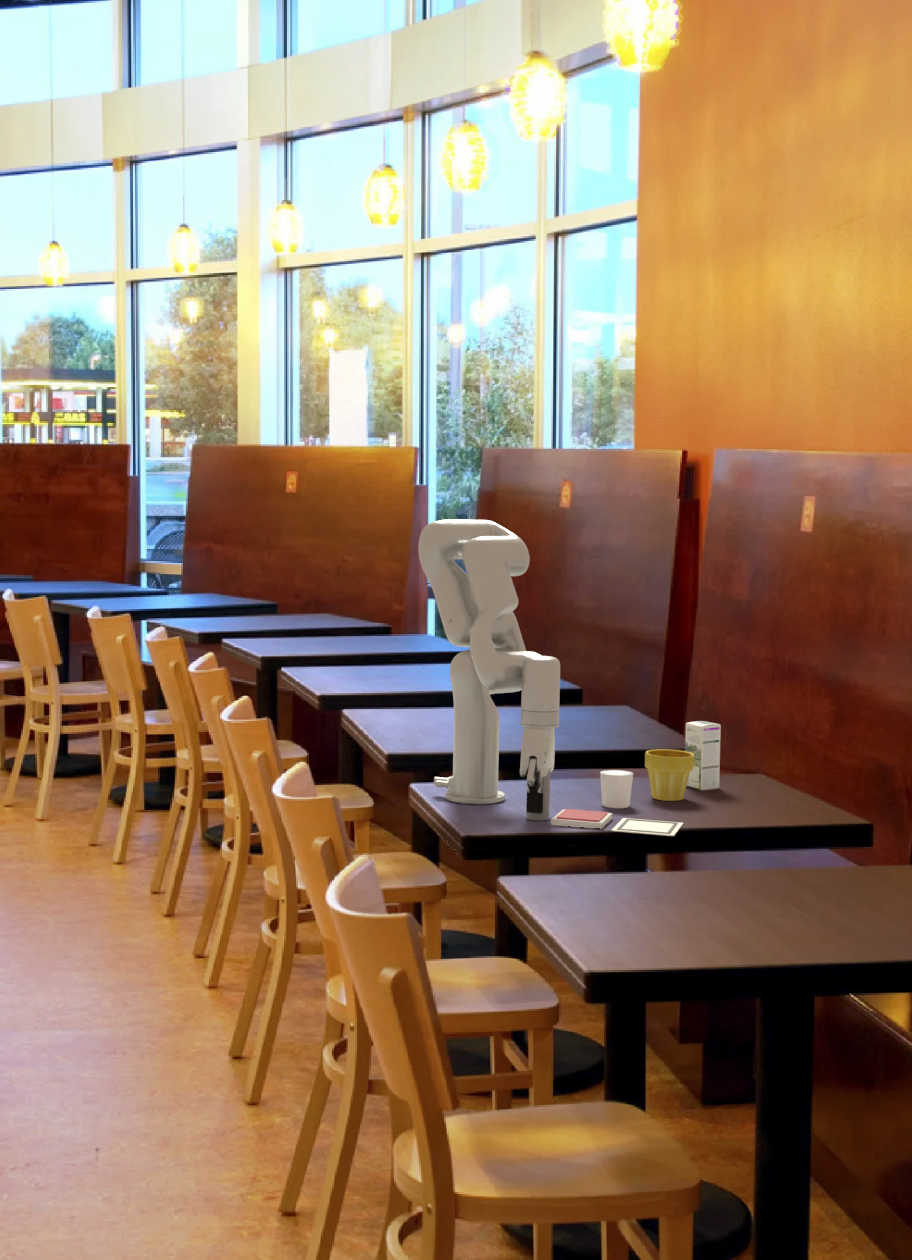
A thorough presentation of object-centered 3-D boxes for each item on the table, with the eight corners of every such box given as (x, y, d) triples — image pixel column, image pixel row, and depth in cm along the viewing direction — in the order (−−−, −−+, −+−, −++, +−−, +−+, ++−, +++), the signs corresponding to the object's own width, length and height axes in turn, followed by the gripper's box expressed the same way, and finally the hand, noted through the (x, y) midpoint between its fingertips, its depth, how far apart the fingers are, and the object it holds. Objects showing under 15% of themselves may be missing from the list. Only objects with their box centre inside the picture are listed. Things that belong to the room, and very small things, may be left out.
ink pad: (551, 825, 297) (551, 817, 297) (563, 815, 307) (563, 807, 307) (602, 829, 294) (602, 821, 294) (612, 819, 304) (612, 811, 304)
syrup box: (720, 788, 339) (722, 723, 337) (699, 790, 336) (702, 725, 334) (703, 784, 343) (705, 720, 342) (682, 786, 340) (684, 721, 339)
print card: (611, 831, 293) (611, 829, 293) (623, 819, 304) (623, 817, 304) (673, 836, 289) (673, 834, 289) (683, 823, 301) (683, 822, 301)
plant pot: (702, 798, 327) (703, 753, 326) (675, 805, 319) (676, 758, 319) (661, 791, 334) (662, 747, 333) (634, 798, 326) (635, 752, 325)
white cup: (634, 809, 314) (634, 775, 314) (600, 808, 314) (601, 774, 314) (630, 802, 321) (631, 769, 321) (598, 801, 321) (598, 768, 321)
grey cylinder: (532, 821, 300) (533, 769, 299) (522, 817, 304) (523, 765, 304) (552, 820, 302) (554, 768, 301) (543, 815, 306) (544, 764, 305)
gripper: (532, 712, 311) (530, 801, 312) (510, 723, 294) (508, 817, 296) (568, 714, 308) (565, 803, 310) (548, 725, 292) (546, 820, 294)
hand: (537, 809), depth 303 cm, fingers closed on grey cylinder, 4 cm apart
